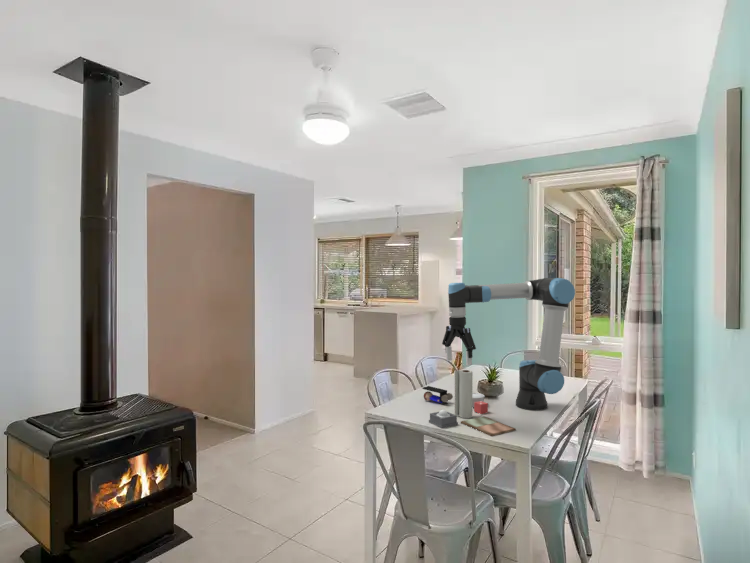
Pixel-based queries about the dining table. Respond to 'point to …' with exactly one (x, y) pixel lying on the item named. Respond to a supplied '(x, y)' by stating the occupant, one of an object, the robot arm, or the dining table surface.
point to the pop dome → (443, 413)
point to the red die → (481, 407)
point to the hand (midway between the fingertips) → (458, 362)
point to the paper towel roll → (463, 393)
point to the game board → (488, 426)
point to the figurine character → (442, 398)
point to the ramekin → (477, 398)
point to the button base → (443, 420)
